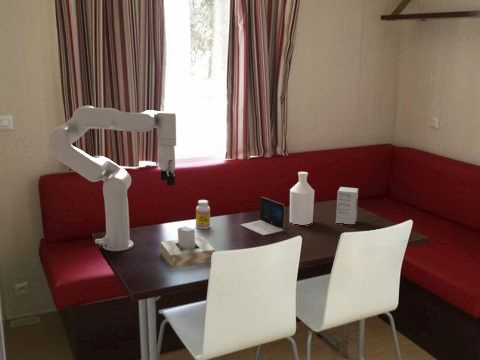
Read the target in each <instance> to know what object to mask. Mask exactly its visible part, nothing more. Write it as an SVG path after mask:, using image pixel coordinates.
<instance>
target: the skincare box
mask: <svg viewBox="0 0 480 360" xmlns="http://www.w3.org/2000/svg"><path fill="white" fill-rule="evenodd" d="M195 231H196V230H195V228H191V227H188V226H185V225H184V226H181V227H179V228H177V240H178V244H179V249H180V250H181V251H184V250H192V249H195V238H196V234H195V233H196V232H195Z"/></svg>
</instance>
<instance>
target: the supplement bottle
mask: <svg viewBox="0 0 480 360" xmlns="http://www.w3.org/2000/svg"><path fill="white" fill-rule="evenodd" d="M197 204H198V205H196V208H195V227H196V229H200V230H205V229H209V228H210V227H211V208H210V206H209V200H206V199H199V200H198V201H197Z"/></svg>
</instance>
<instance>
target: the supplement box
mask: <svg viewBox="0 0 480 360" xmlns="http://www.w3.org/2000/svg"><path fill="white" fill-rule="evenodd" d="M336 196H337V198H336V214H335V224H336V223H344V224H356V223H357V216H358V215H357V214H358V201H359V188H357V187H356V188H355V187H347V186H339V189H338V190H337V195H336ZM355 222H356V223H355Z"/></svg>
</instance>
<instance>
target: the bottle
mask: <svg viewBox="0 0 480 360" xmlns="http://www.w3.org/2000/svg"><path fill="white" fill-rule="evenodd" d="M297 175H298V182H297V183H296V184H294V185H293V186H292V187H291V188H290V189H289V223H290V222H291V223H293V224H292V225H294V224H299V225H306V224H310V223H312V224H313V221H314V218H313V217H314V204H315V189H313V188H312V186H311V185H310V184H309V183H308V180H307V179H308V176H309V172H306V171H298V172H297ZM291 223H290V224H291ZM299 225H298V226H299ZM306 226H307V225H306Z"/></svg>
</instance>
